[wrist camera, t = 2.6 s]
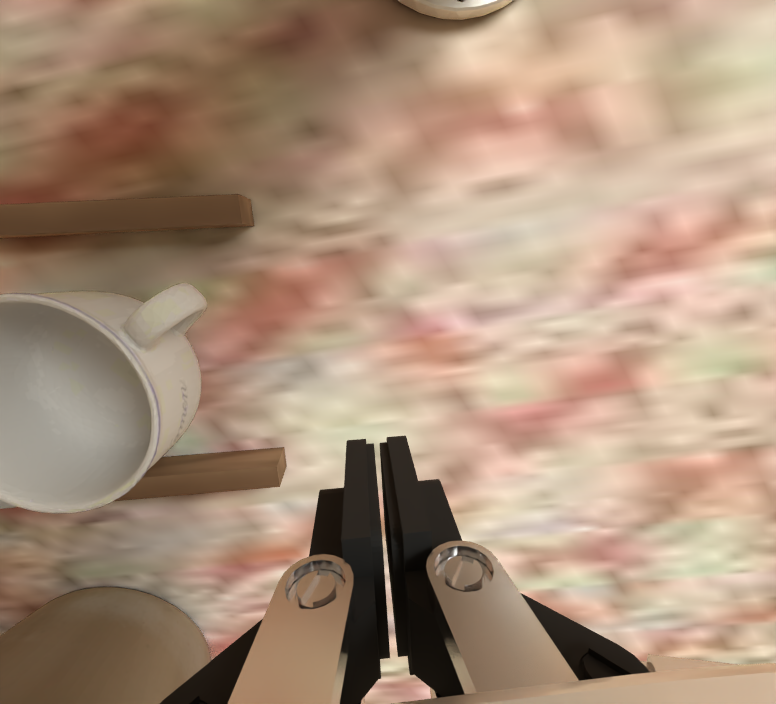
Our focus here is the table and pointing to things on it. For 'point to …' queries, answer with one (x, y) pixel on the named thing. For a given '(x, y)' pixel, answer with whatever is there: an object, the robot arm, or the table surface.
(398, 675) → the table surface
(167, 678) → the plant pot
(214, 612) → the table surface
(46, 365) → the teacup
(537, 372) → the table surface
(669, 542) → the table surface
